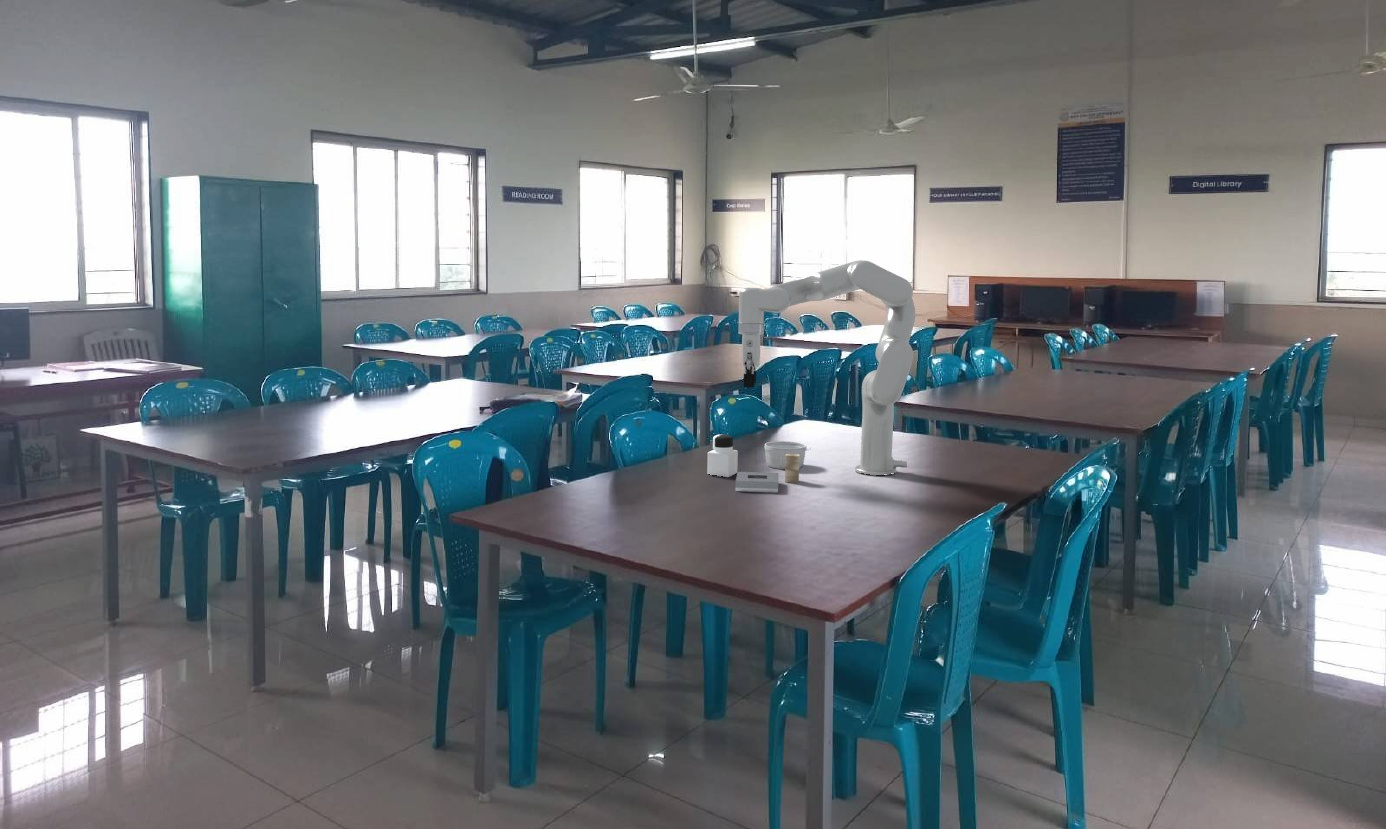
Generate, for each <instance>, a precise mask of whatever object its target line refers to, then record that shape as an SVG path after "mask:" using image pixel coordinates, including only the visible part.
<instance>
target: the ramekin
mask: <svg viewBox="0 0 1386 829" xmlns="http://www.w3.org/2000/svg"><path fill="white" fill-rule="evenodd" d="M763 448H764V451H765V461H766V464H767V466H768V467H770V468H771V469H772V468H773V469H775V470H776V469H777V470H785V464H786V454H799V469H800V468H802V466H804V462H805V457H806V451H807V444H805V443H801V442H798V441H788V440H787V441H786V440H785V441H784V440H777V441H776V440H775V441H768V442H766V443H764V447H763Z"/></svg>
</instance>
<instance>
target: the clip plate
mask: <svg viewBox="0 0 1386 829" xmlns="http://www.w3.org/2000/svg"><path fill="white" fill-rule="evenodd" d="M735 492H745V493H746V492H747V493H748V492H749V493H751V492H752V493H779V473H778V472H756V471H755V472H754V471H753V472H752V471H737V473H736V478H735Z"/></svg>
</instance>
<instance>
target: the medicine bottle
mask: <svg viewBox="0 0 1386 829" xmlns="http://www.w3.org/2000/svg"><path fill="white" fill-rule="evenodd" d="M738 457H739V451H738V450H737V449H734V437H733V436H731V435H729V434H723V433H722V434H716V435H714V436H713V438H712V450H710V451H708V452H707V463H706V464H707V467H706V468H707V470H706V473H707V474H710V475H709V476H712V475H717V476H716V477H721V476H723V478H729V477H732V476H734V475H735V474H736V475H737V472H738V467H739V466H738V460H739V459H738Z"/></svg>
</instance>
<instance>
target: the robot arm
mask: <svg viewBox="0 0 1386 829" xmlns="http://www.w3.org/2000/svg"><path fill="white" fill-rule="evenodd" d="M858 290H862V291H864V292H865V293H867V294H869V295H871V296H873V297H875V298H877V299H879V300H880V301H881V302H883V304H884V306H885V308H886V317H885V323H884V326H883V329H882V331H881V335H880V337H879V340H878V344H877V345H876V349H875V358H876V361H877V362H878V364H877V368H876V369H874V370H872V371H870V372H868V373H867V374H866V375H865V376H864V378H863V380H862V383H861V401H862V412H861V413H862V414H861V416H862V419H861V420H862V421H861V436H860V438H861V441H860V461H859V462H860V464H858V465H856V466H855V467H854V470H855V472H856V473H858V474H861V473H864V474H863V475H866V474H870V475H869V476H876V475H884V474H891V473H895V474H897V468H907V467H908V461H906V460H905V461H904V460H895V459H894V457H893V437H894V434H893V433H894V420H895V418H894V417H895V414H894V413H895V412H894V411H895V409H894V408H895V406H894V404H895V403H896V402H898V400H899V399H900V397H901V396H902V394H903V391H904V388H905V386H906V382H907V381H908V380H907V379H908V377H909V375H910V374H909V373H910V371H911V368H912V365H913V361H914V350H913V348H912V346H911V344H910V340H911V337H912V333H913V330H914V326H915V322H916V321H915V320H916V308H915V307H916V305H915V302H914V300H913V297H914V296H913V294H914V289H913V286H912V284H911V282H909V281H908V280H907V279H906V278H904V277H903V276H902V277H901V276H900V275H897V274H896V273H894V272H892V271H889V270H887V269H885V268H883V267H881V266H879V265H878V264H876V263H873V262H871V261H869V260H863V259H861V260H859V259H858V260H854V261H851V262H848V263H844V264H842V265H839V266H838V265H837V266H835V267H831V268H828V269H825V270H821V271H818V272H815V273H812V274H809V275H807V276H804V277H800V278H797V279H794V280H790V281H786V282H784V283H783V282H782V283H780V284H777V285H775V286H774V285H773V286H771V287H768V288H764V289H762V288H761V287H743V288H741V289H739V292H738V293H739V294H738V334H739V335H742V337H741V338H742V339H741V340H742V341H741V345H742V346H741V347H742V348H741V354H742V355H741V357H742V367H744V370H743V371H744V372H743V388H747V389H749V388H750V389H751V388H753V389H754V387H755V384H756V383H757V370H756V368H759V367H760V364H761V335H764V326H765V325H764V324H765V323H764V322H765V321H764V319H765V318H764V317H765V316H764V315H765V312H769V313H773V314H774V313H775V314H781V313H783V312H785V311H787V310H788V309H789V308H790V307H792V306H797V305H799V304H804V303H808V302H821V301H826V300H830V299H832V298H836V297H838V296H841V295H844V294H849V293H852V292H855V291H858Z"/></svg>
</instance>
